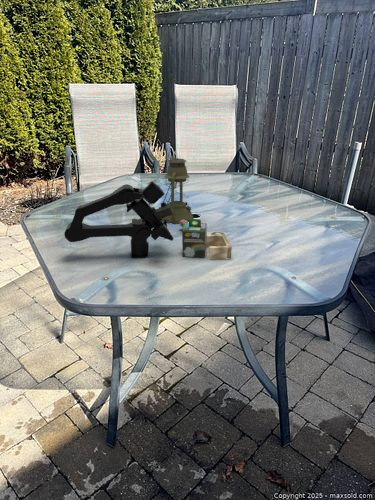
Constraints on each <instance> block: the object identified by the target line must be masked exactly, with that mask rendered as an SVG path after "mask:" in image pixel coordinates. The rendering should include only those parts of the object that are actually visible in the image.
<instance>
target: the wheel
mask: <svg viewBox="0 0 375 500" xmlns="http://www.w3.org/2000/svg"><path fill="white" fill-rule="evenodd" d="M219 234H225V233H224V232H222V231H220V232H219V231H214V232H211V234H210V235H219Z"/></svg>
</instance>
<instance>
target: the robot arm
mask: <svg viewBox="0 0 375 500" xmlns="http://www.w3.org/2000/svg"><path fill="white" fill-rule="evenodd" d="M164 195H166V193H165V192H164V190H163V189H162V188H161V187H160V186H159V185H157V184H156V183H155V182H154V181H153V180H151V181H150V182H149V183H148V185H146V186H145V187H144V188H137V187H133V185H131V184H129V183H128V184H127V183H125V184H123V185H121V186H120V187H118V188H117V189H115V190H114V191H113V192H111V193H110V194H107V195H104V196H101V197H99V198H97V199H96V200H92V201H90V202H87V203H84V204H83V205H79V206H77V207H76V208H75V211H74V216H73V219H72V221H71V222H70V223H68V224H67V226H66V229H65V231H64V238H65V239H66V240H67V241H68V242H70V243H76V242H82V241H85V240H87V239H91V238H104V237H105V238H107V237H108V238H109V237H129V238H130V251H131V252H130V258H134V259H135V258H137V259H138V258H148V255H149V254H150V247H149V245H150V244H149V242H148V239H150V237H151V238H152V239H153V241H156V240H157V239H158V238H163V239H167V240H169V241H171V242H172V241H173V240H174V237H173V234H172V233H171V232H170V230H169V229H168V223H167V222H166V220H165V221H164V222H163V221H162V218H164V217H167V216H171V215H172V214H173V211H172V209H171V207H170V204H167V202H165V201H164V202H163V201H162V202H161V203H160V206H159V207H158V208H155V207H153V206H151V205H154V204H156V203H157V202H158V201H160V199H161V198H163V196H164ZM122 205H126V213H129V212H130V211H131V210H132V211H134V213H135V214H136V215H137V216H138V217H139V218H132V219H131V222H129V223H125V224H121V223H119V224H101V225H100V224H99V225H98V224H95V225H90V224H86V223H83V222H84V219H85V218H86V217H88V216H91V215H93V214H95V213H98V212H101V211H103V210H107V209H108V208H111V207H113V206H122Z"/></svg>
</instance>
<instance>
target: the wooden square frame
mask: <svg viewBox="0 0 375 500" xmlns="http://www.w3.org/2000/svg"><path fill="white" fill-rule="evenodd" d="M206 248H208V260H209V259H218V260H226V259H225V258H231V259H232V251H233V249H232V246H231V244H230V241H229V240H228V238H227V236H226V234H225V233H224V234H219V235H211V234H207V241H206Z"/></svg>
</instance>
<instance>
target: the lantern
mask: <svg viewBox="0 0 375 500" xmlns="http://www.w3.org/2000/svg"><path fill="white" fill-rule="evenodd" d="M167 162H168V163H169V164H168V167H167V169H166V174H165V175H164V178H165V180H167V181H168V183H169V182H170V184H169V186H168V184H167V183H165V184H166V186H167V187H168V189H167V191H166V193H165V196H164V199H163V201H162V203H163V202H165V201H166V204H170V207H171V209H172V211H173V214H172V215H171V216H167V217H164V218H162V221H163V222H164V221H165V220H166V222H167V224H169V223H172V224H171V225H179V224H180V223H179V221H181V220H183V219H184V220H187V221H188V222H189V219H195V218H194V216H193V213H192V208H191V207H190V206H189V205H188V202H187V201H185V200H186V198H185V199H183V198H184V197H183V196H185V197H187V198H189V196H187V195H185V194H183V192H184V191H183V186H184V183H186V182H187V183H189V180H188V179H189V178H190V177H191V176H190V175H189V174H188V170H187V166H186V163H187V160H185V159H184V158H179V157H178V158H177V157H171V158H168V159H167ZM177 184H179V185H177ZM176 185H177V186H176ZM177 187H179V192H178V191H176V190H175V189H176V188H177ZM169 192H170V196H169V199H168V200H167V195H168V194H169ZM175 192H176V193H177V194H179V200H175Z"/></svg>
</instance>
